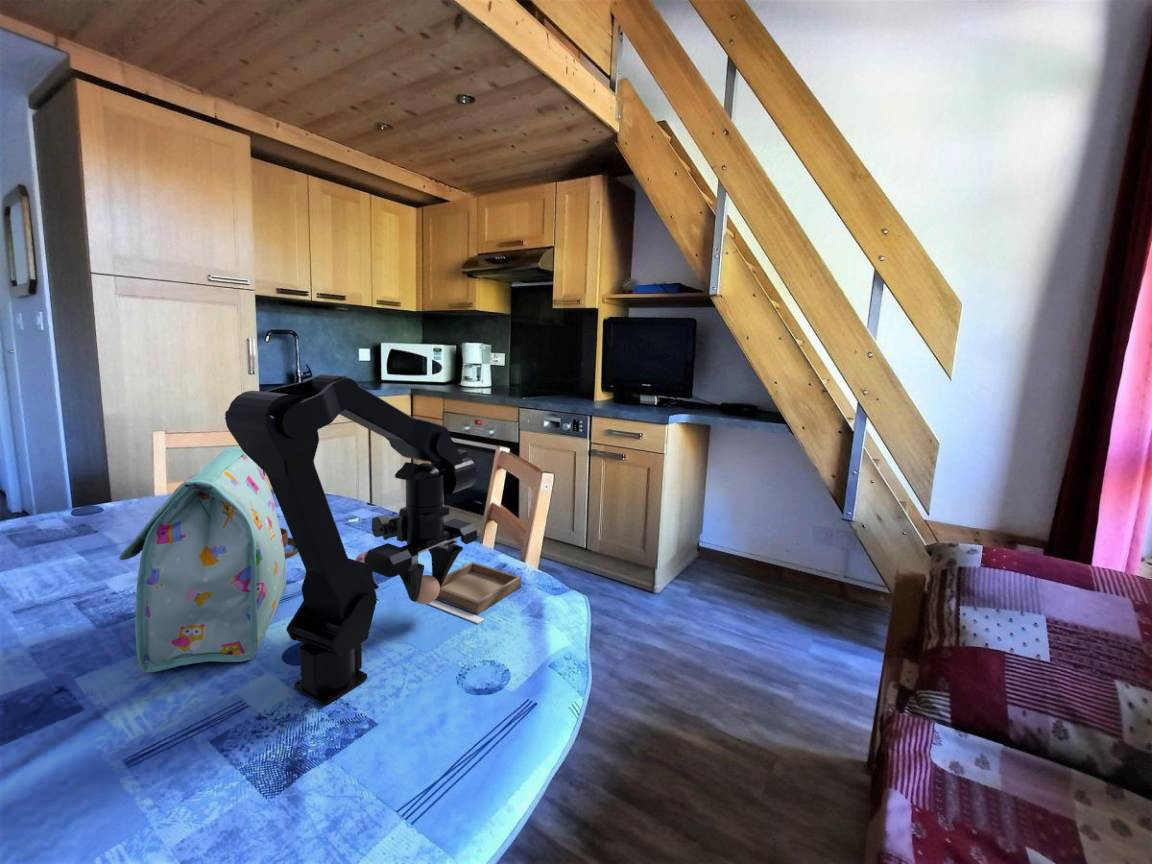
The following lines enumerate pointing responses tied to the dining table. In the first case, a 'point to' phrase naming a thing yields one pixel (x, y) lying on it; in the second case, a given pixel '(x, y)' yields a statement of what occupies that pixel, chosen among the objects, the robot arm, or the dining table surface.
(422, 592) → the ball
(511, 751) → the dining table surface
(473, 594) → the tray
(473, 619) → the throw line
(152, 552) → the lunch bag
